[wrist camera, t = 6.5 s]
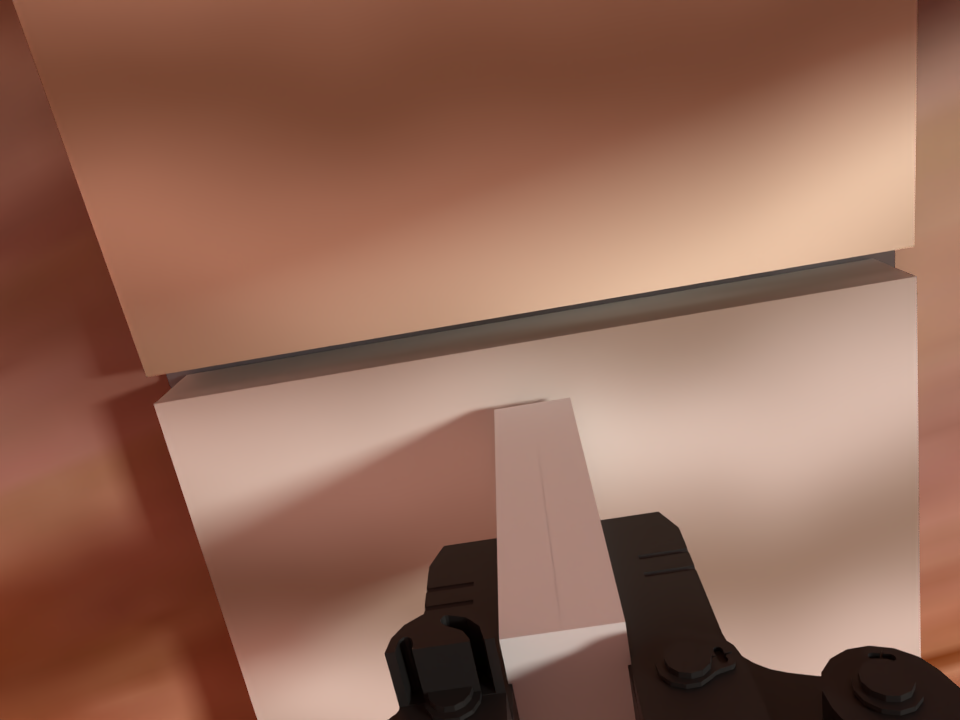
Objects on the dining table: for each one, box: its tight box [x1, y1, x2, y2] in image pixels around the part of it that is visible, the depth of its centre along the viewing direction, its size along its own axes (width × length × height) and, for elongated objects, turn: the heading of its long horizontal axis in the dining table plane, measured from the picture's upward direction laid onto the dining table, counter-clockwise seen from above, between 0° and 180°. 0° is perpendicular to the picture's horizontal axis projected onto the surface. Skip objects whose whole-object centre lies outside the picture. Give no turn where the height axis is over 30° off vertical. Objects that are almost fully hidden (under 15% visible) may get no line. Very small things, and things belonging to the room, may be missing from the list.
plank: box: [154, 259, 921, 720], centre depth 18 cm, size 10×15×2 cm, turn 100°
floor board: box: [12, 0, 918, 388], centre depth 16 cm, size 21×16×2 cm
